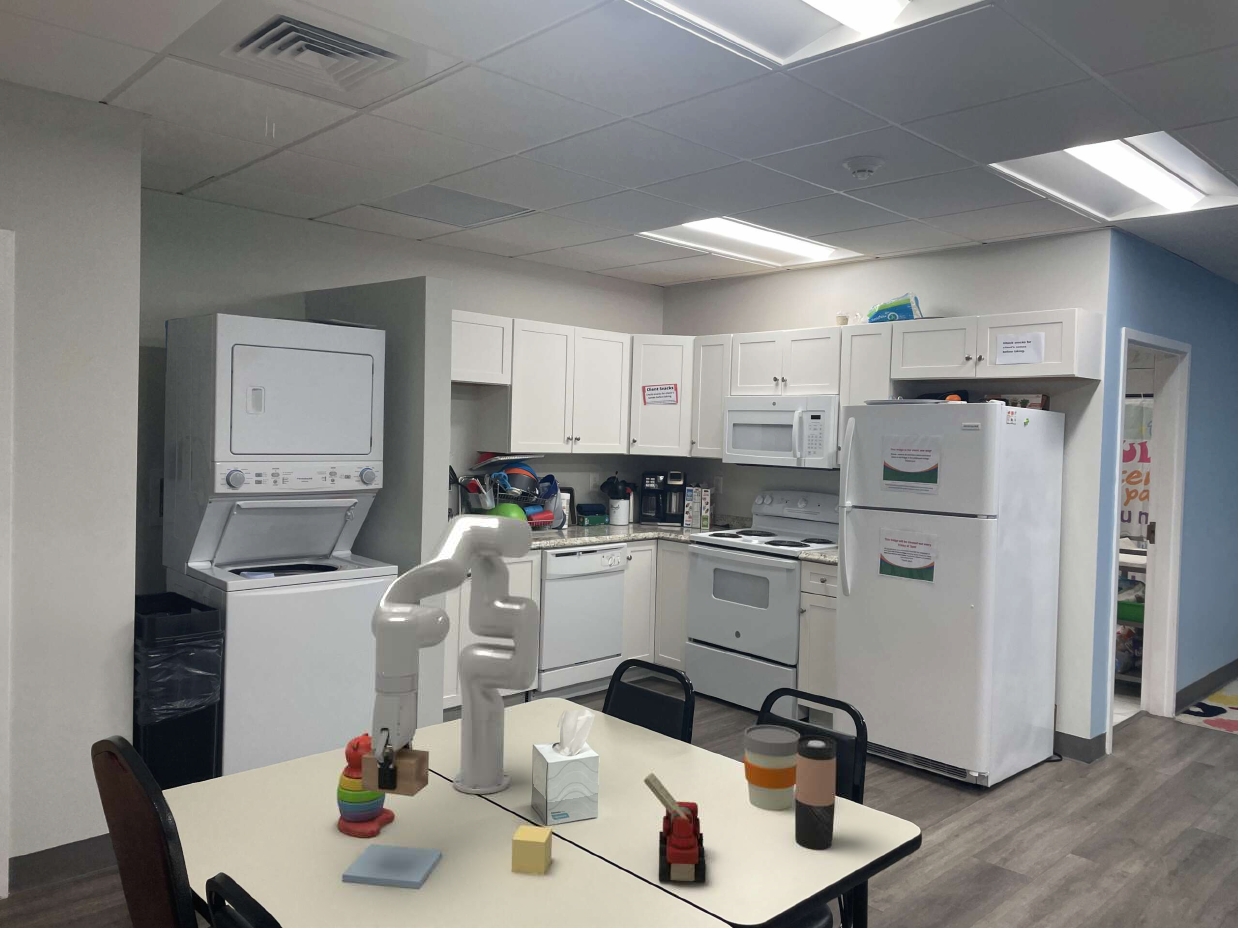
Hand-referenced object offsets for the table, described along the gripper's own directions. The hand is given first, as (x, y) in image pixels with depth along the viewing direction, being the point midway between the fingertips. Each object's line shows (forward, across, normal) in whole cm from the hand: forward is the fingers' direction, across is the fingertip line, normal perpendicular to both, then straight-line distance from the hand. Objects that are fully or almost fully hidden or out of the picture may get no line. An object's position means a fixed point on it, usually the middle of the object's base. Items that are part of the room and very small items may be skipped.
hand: (395, 780), depth 162 cm
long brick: (+1, 0, 0) cm, 1 cm away
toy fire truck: (+16, -11, +50) cm, 53 cm away
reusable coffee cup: (+16, -44, +68) cm, 83 cm away
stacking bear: (+16, -16, -13) cm, 26 cm away
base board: (+16, 0, 0) cm, 16 cm away
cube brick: (+16, -6, +24) cm, 30 cm away
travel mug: (+16, -26, +76) cm, 82 cm away
